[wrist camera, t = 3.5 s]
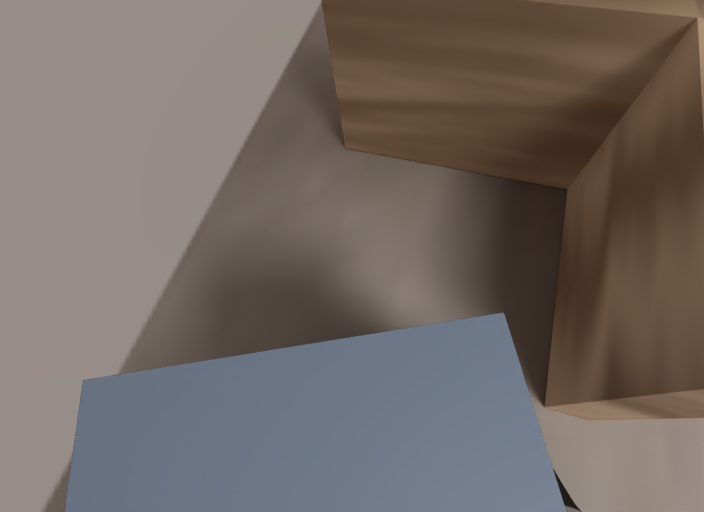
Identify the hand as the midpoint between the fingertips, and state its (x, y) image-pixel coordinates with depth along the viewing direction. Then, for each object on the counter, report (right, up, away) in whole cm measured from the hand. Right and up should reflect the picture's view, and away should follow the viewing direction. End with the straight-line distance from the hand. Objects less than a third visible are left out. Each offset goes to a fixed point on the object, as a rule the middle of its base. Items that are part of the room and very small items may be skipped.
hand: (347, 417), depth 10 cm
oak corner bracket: (+4, +5, +7) cm, 9 cm away
